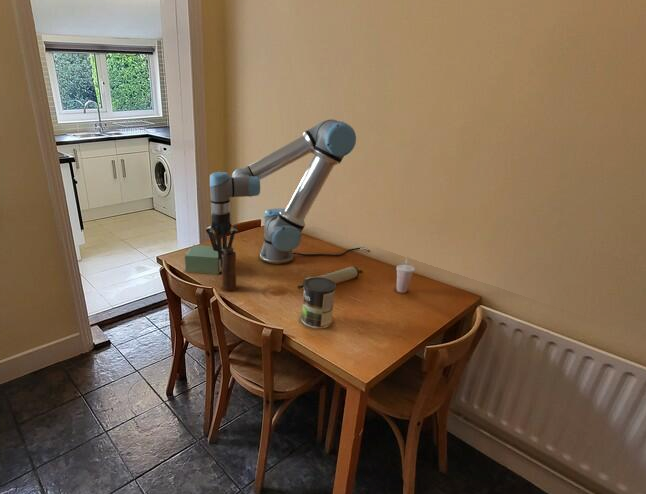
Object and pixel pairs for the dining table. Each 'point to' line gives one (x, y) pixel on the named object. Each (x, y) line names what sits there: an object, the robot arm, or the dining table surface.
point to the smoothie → (404, 276)
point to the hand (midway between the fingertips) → (223, 266)
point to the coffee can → (318, 302)
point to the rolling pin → (339, 275)
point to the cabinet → (202, 260)
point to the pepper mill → (229, 269)
